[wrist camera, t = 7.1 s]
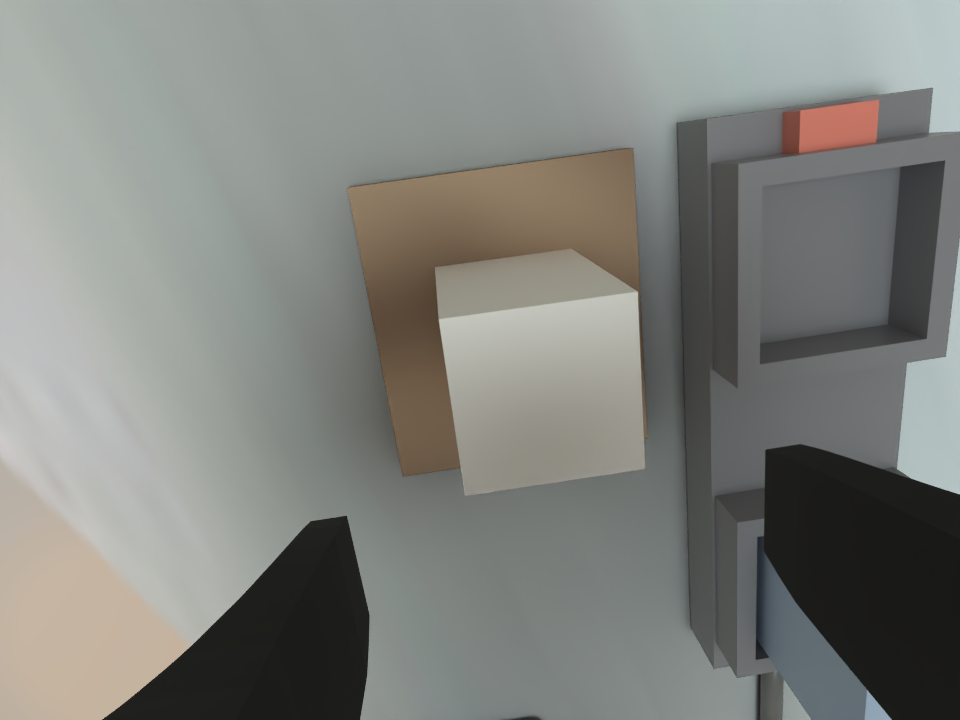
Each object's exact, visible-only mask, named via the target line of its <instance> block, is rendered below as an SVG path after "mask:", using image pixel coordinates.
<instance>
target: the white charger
mask: <svg viewBox="0 0 960 720" xmlns="http://www.w3.org/2000/svg"><path fill="white" fill-rule="evenodd" d="M435 276H436V290H437V303H438V317H439V325H440V332H441V338H442V345H443V352H444V359H445V365H446V372H447V379H448V386H449V392H450V399H451V406H452V413H453V419H454V426H455V433H456V440H457V446H458V453H459V460H460V467H461V473H462V480H463V487H464V493H465V496H469V495H476V494H482V493H489V492H496V491H502V490H509V489H516V488H522V487H529V486H536V485H542V484H549V483H556V482H562V481H569V480H575V479H582V478H589V477H595V476H602V475H609V474H615V473H622V472H629V471H635V470H642V469H645V454H644V430H643V406H642V382H641V358H640V334H639V310H638V291H636V290H635V289H633V288H631V287H630V286H628V285H627V284H625V283H624V282H622V281H621V280H619V279H618V278H616V277H614V276H613V275H611V274H610V273H608V272H607V271H605V270H604V269H602V268H601V267H599V266H597V265H596V264H594V263H593V262H591V261H590V260H588V259H587V258H585V257H584V256H582V255H581V254H579V253H577V252H576V251H574V250H573V249H566V250H558V251H551V252H544V253H536V254H529V255H522V256H514V257H507V258H500V259H492V260H485V261H478V262H470V263H463V264H455V265H448V266H441V267H435Z"/></svg>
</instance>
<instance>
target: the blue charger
mask: <svg viewBox="0 0 960 720" xmlns="http://www.w3.org/2000/svg"><path fill="white" fill-rule="evenodd" d="M756 639H757V640H758V642H759V643H760V645H761V646H762V648H763V649H764V650H765V652H766V653H767V655H768V656H769V658H770V659H771V661H772V662H773V664H774V665H775V667H776V668H777V670H778V671H779V673H780V674H781V675H782V677H783V678H784V680H785V681H786V683H787V684H788V686H789V687H790V689H791V690H792V692H793V693H794V695H795V696H796V697H797V699H798V700H799V702H800V703H801V705H802V706H803V708H804V709H805V711H806V712H807V714H808V715H809V717H810V718H811V719H812V720H892V719H891V718H890V717H889V716H888V715H887V713H886V712H885V711H884V710H883V709H882V707H881V706H880V705H879V704H878V702H877V701H876V700H875V699H874V698H873V696H872V695H871V694H870V693H869V692H868V690H867V689H866V688H865V687H864V686H863V684H862V683H861V682H860V681H859V679H858V678H857V677H856V676H855V675H854V673H853V672H852V671H851V670H850V669H849V667H848V666H847V665H846V664H845V663H844V661H843V660H842V659H841V658H840V657H839V655H838V654H837V653H836V652H835V650H834V649H833V648H832V647H831V646H830V644H829V643H828V642H827V641H826V640H825V638H824V637H823V636H822V635H821V633H820V632H819V631H818V630H817V628H816V627H815V626H814V625H813V624H812V622H811V621H810V620H809V619H808V617H807V616H806V615H805V614H804V612H803V611H802V610H801V609H800V607H799V606H798V605H797V603H796V602H795V601H794V599H793V598H792V596H791V595H790V593H789V591H788V590H787V588H786V587H785V585H784V584H783V582H782V581H781V579H780V577H779V576H778V574H777V572H776V571H775V569H774V567H773V566H772V564H771V562H770V561H769V559H768V557H767V556H766V554H765V552H764V536H760V537H757V596H756Z"/></svg>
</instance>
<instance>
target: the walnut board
mask: <svg viewBox="0 0 960 720" xmlns="http://www.w3.org/2000/svg"><path fill="white" fill-rule="evenodd" d="M347 190H348V195H349V200H350V205H351V210H352V216H353V221H354V226H355V231H356V236H357V241H358V247H359V252H360V257H361V262H362V267H363V273H364V278H365V283H366V288H367V293H368V299H369V304H370V309H371V314H372V319H373V325H374V330H375V335H376V340H377V345H378V351H379V356H380V361H381V366H382V371H383V376H384V382H385V387H386V392H387V397H388V402H389V408H390V413H391V418H392V423H393V428H394V434H395V439H396V444H397V449H398V454H399V460H400V465H401V470H402V475H403V477H404V476H411V475H417V474H423V473H430V472H436V471H443V470H449V469H455V468H461V467H460V460H459V453H458V446H457V440H456V433H455V426H454V419H453V413H452V406H451V399H450V392H449V386H448V379H447V372H446V365H445V359H444V352H443V345H442V338H441V332H440V325H439V317H438V303H437V290H436V276H435V267H441V266H448V265H455V264H463V263H470V262H478V261H485V260H492V259H500V258H507V257H514V256H522V255H529V254H536V253H544V252H551V251H558V250H566V249H573V250H574V251H576V252H577V253H579V254H581V255H582V256H584V257H585V258H587V259H588V260H590V261H591V262H593V263H594V264H596V265H597V266H599V267H601V268H602V269H604V270H605V271H607V272H608V273H610V274H611V275H613V276H614V277H616V278H618V279H619V280H621V281H622V282H624V283H625V284H627V285H628V286H630V287H631V288H633V289H635V290H636V291H638V310H639V334H640V358H641V382H642V406H643V430H644V439H647V419H646V398H645V378H644V357H643V337H642V316H641V296H640V275H639V255H638V235H637V214H636V194H635V173H634V153H633V148H625V149H618V150H611V151H604V152H597V153H590V154H582V155H575V156H568V157H561V158H554V159H546V160H539V161H532V162H525V163H518V164H511V165H503V166H496V167H489V168H482V169H475V170H468V171H460V172H453V173H446V174H439V175H432V176H425V177H417V178H410V179H403V180H396V181H389V182H382V183H374V184H367V185H360V186H353V187H348V188H347Z"/></svg>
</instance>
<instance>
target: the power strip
mask: <svg viewBox="0 0 960 720" xmlns="http://www.w3.org/2000/svg"><path fill="white" fill-rule="evenodd" d="M932 93H933V88H927V89H920V90H912V91H905V92H897V93H890V94H882V95H875V96H867V97H860V98H853V99H846V100H839V101H831V102H824V103H817V104H810V105H802V106H795V107H788V108H781V109H774V110H766V111H759V112H752V113H745V114H737V115H730V116H723V117H716V118H708V119H701V120H694V121H687V122H680V123H677V134H678V171H679V208H680V245H681V282H682V319H683V356H684V393H685V430H686V467H687V504H688V541H689V578H690V615H691V629H692V630H693V632H694V634H695V636H696V638H697V639H698V641H699V643H700V645H701V647H702V648H703V650H704V652H705V654H706V656H707V657H708V659H709V661H710V663H711V664H712V666H713V668H714V669H716V668H721V667H727V666H730V667H731V669H732V670H733V672H734V674H735V675H736V677H737V678H740V677H746V676H752V675H758V674H761V690H760V720H782V712H783V682H784V678H783V677H782V675H781V674H780V673H779V671H778V670H777V668H776V667H775V665H774V664H773V662H772V661H771V659H770V658H769V656H768V655H767V653H766V652H765V650H764V649H763V648H762V646H761V645H760V643H759V642H758V640H757V639H756V596H757V537H760V536H764V502H765V450H766V449H772V448H778V447H785V446H791V445H797V444H802V445H807V446H811V447H815V448H819V449H822V450H826V451H829V452H832V453H835V454H839V455H842V456H845V457H848V458H851V459H854V460H857V461H860V462H863V463H866V464H869V465H872V466H875V467H878V468H881V469H884V470H886V471H889V472H892V473H895V474H898V475H901V476H904V477H907V478H909V477H908V476H906V475H905V474H903V473H902V472H900V471H899V470H897V461H898V451H899V440H900V430H901V419H902V409H903V398H904V388H905V377H906V367H907V363H908V362H914V361H921V360H927V359H934V358H940V357H946V351H947V342H948V334H949V325H950V317H951V308H952V299H953V291H954V282H955V273H956V265H957V256H958V248H959V239H960V132H939V133H929V124H930V114H931V103H932ZM910 479H911V478H910Z"/></svg>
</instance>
